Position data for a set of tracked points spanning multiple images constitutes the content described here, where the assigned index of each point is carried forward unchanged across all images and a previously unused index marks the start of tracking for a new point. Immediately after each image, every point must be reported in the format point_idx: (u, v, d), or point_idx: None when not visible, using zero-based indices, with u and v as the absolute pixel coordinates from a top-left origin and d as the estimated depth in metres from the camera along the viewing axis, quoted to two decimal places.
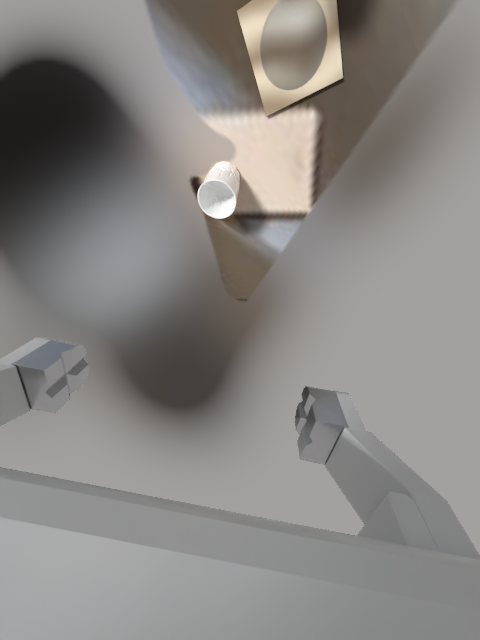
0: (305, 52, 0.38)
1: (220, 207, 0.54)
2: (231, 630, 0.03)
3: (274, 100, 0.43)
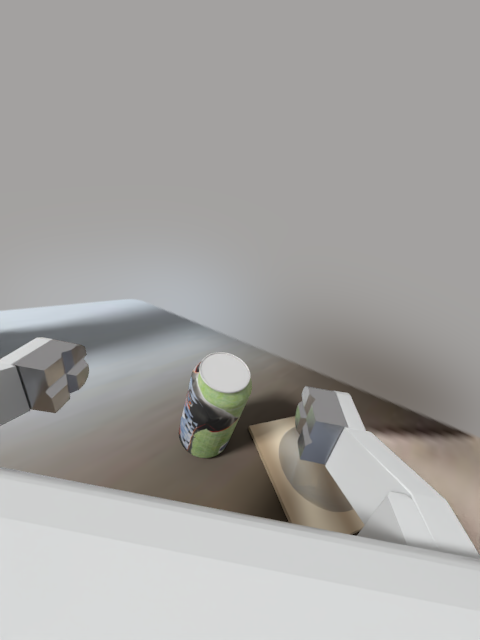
0: None
1: None
2: (231, 630, 0.03)
3: None
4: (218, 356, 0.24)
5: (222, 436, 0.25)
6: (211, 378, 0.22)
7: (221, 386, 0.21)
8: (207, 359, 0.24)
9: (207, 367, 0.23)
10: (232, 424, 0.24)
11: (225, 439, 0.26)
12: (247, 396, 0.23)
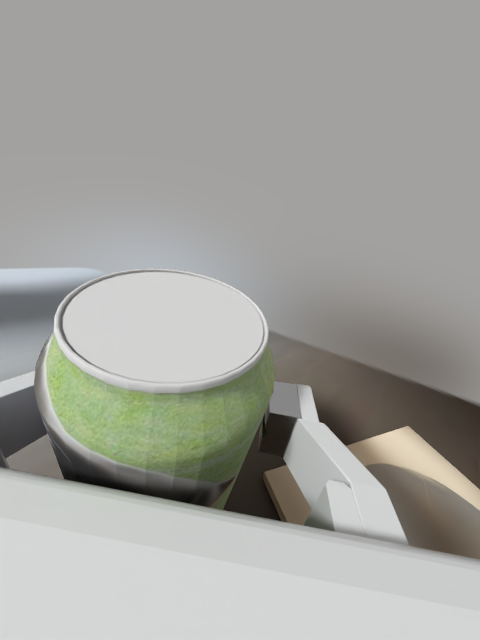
0: (429, 517, 0.13)
1: None
2: (231, 630, 0.03)
3: None
4: (158, 277, 0.07)
5: None
6: (104, 332, 0.05)
7: (141, 363, 0.05)
8: (114, 281, 0.07)
9: (102, 299, 0.06)
10: (216, 501, 0.07)
11: None
12: (263, 402, 0.06)
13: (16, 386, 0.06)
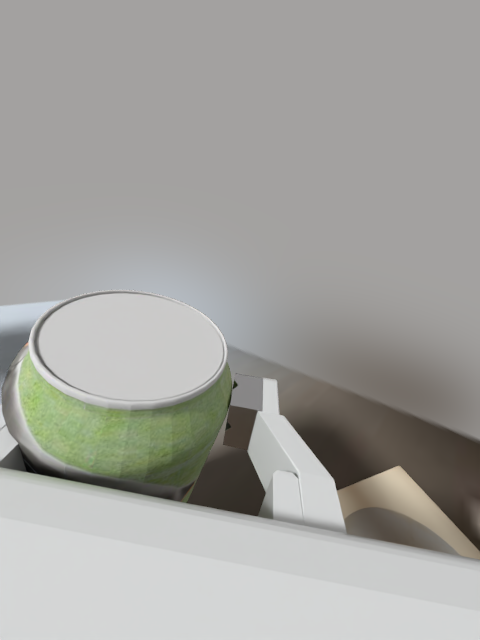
0: None
1: None
2: (231, 630, 0.03)
3: None
4: (126, 299, 0.08)
5: None
6: (80, 355, 0.05)
7: (117, 384, 0.05)
8: (83, 302, 0.07)
9: (73, 322, 0.06)
10: None
11: None
12: (222, 413, 0.07)
13: None
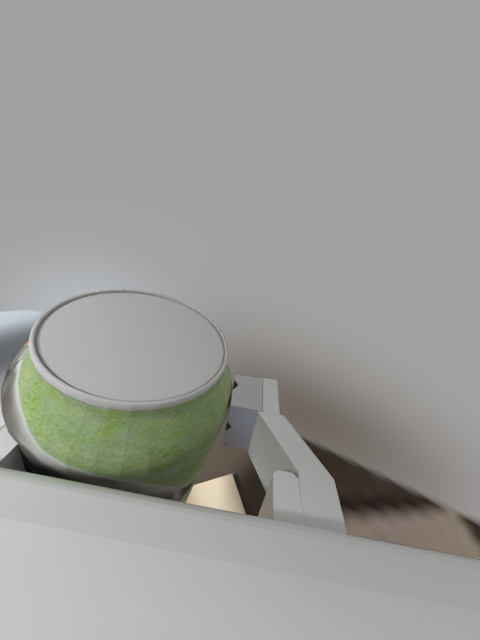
0: None
1: None
2: (231, 630, 0.03)
3: None
4: (126, 298, 0.08)
5: None
6: (80, 355, 0.05)
7: (117, 384, 0.05)
8: (83, 302, 0.07)
9: (73, 322, 0.06)
10: None
11: None
12: (222, 413, 0.07)
13: None
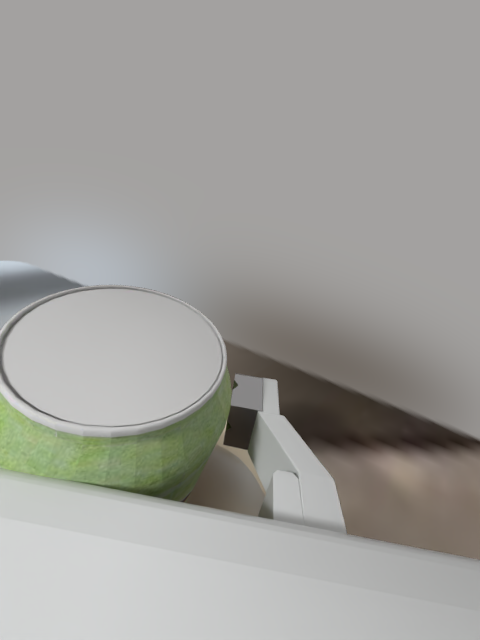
0: (196, 484, 0.14)
1: None
2: (231, 630, 0.03)
3: None
4: (113, 295, 0.07)
5: None
6: (54, 369, 0.05)
7: (96, 404, 0.04)
8: (62, 301, 0.06)
9: (48, 327, 0.05)
10: None
11: None
12: (220, 427, 0.06)
13: None
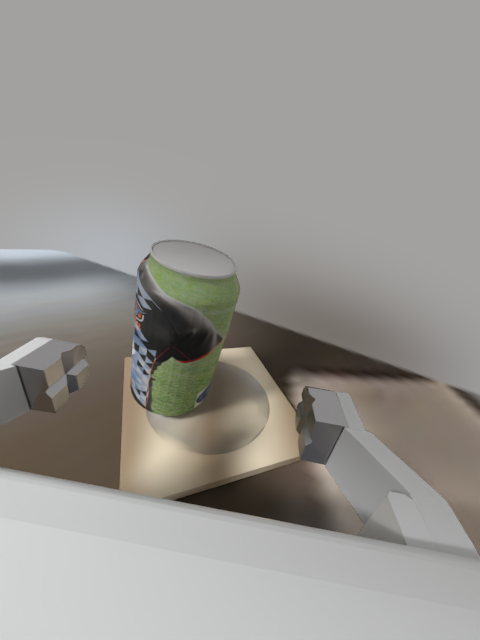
0: (220, 381, 0.22)
1: None
2: (231, 630, 0.03)
3: (288, 430, 0.18)
4: (182, 244, 0.15)
5: (200, 372, 0.16)
6: (173, 260, 0.13)
7: (191, 269, 0.12)
8: (163, 243, 0.14)
9: (164, 250, 0.13)
10: (214, 349, 0.15)
11: (204, 380, 0.17)
12: (235, 294, 0.14)
13: None
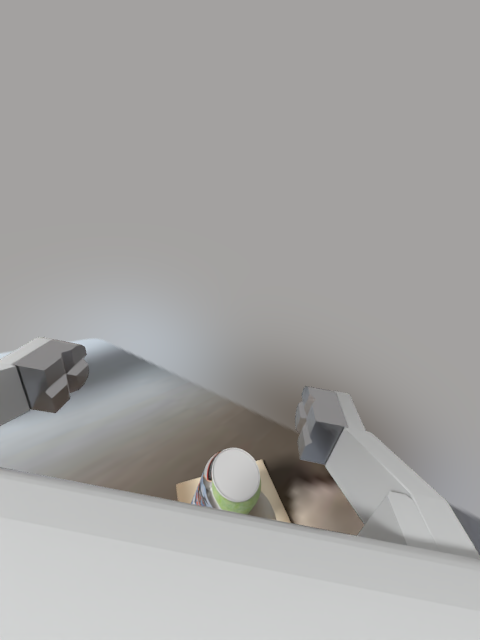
0: None
1: None
2: (231, 630, 0.03)
3: None
4: (226, 455, 0.25)
5: None
6: (226, 487, 0.23)
7: (237, 495, 0.22)
8: (217, 462, 0.24)
9: (219, 473, 0.23)
10: None
11: None
12: (259, 493, 0.24)
13: None
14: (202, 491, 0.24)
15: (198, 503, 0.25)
